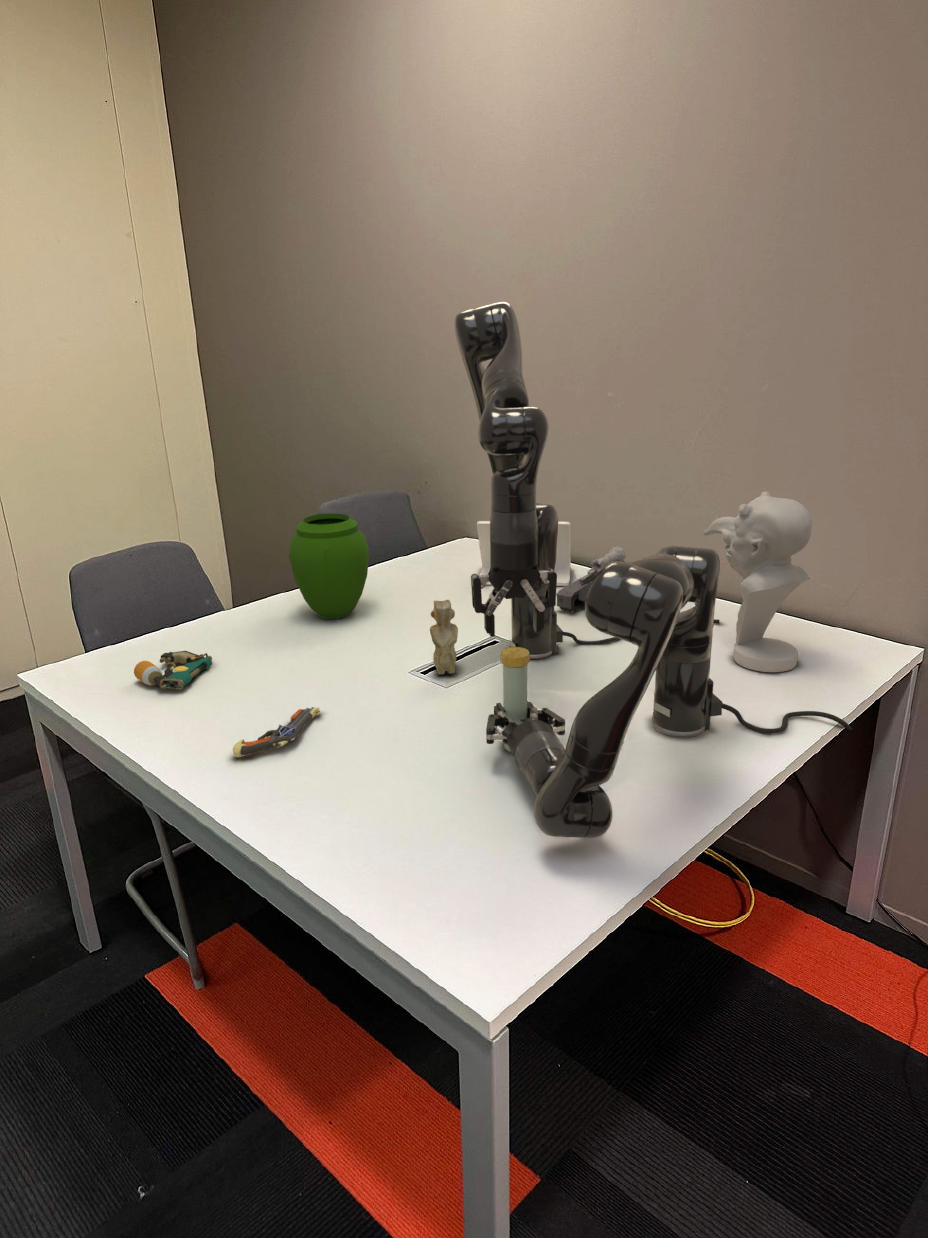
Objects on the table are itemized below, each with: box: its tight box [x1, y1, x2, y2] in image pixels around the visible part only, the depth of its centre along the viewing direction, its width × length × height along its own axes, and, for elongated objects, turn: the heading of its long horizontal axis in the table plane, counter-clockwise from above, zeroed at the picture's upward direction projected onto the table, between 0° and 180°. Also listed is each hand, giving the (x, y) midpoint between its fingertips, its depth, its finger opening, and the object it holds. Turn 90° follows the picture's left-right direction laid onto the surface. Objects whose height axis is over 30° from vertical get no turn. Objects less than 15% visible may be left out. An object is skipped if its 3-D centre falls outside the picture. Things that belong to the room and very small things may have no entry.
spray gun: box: [133, 650, 213, 690], centre depth 180 cm, size 4×17×15 cm
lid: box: [500, 646, 531, 667], centre depth 142 cm, size 5×5×2 cm
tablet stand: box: [476, 520, 572, 587], centre depth 236 cm, size 18×25×17 cm
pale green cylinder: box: [502, 664, 528, 753], centre depth 145 cm, size 4×4×18 cm
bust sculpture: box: [702, 491, 813, 673], centre depth 177 cm, size 16×24×35 cm, turn 28°
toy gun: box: [232, 706, 321, 758], centre depth 154 cm, size 3×19×10 cm
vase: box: [288, 512, 370, 620], centre depth 209 cm, size 20×20×24 cm
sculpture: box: [429, 599, 459, 675], centre depth 177 cm, size 6×7×15 cm
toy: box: [556, 546, 627, 613], centre depth 212 cm, size 25×20×15 cm
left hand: (514, 632), depth 141 cm, fingers open, 7 cm apart
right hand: (511, 706), depth 149 cm, fingers closed on pale green cylinder, 4 cm apart
